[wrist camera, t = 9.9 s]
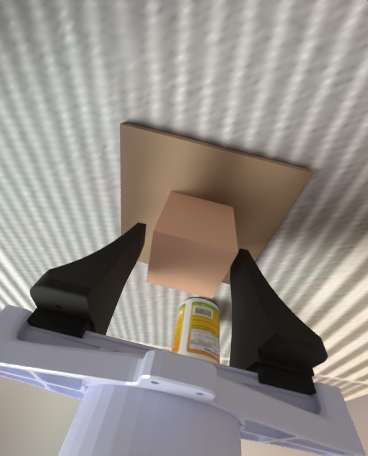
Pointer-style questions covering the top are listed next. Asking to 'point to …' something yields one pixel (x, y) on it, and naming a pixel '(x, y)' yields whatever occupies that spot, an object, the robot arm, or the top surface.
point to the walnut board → (204, 184)
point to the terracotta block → (192, 245)
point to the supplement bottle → (198, 330)
